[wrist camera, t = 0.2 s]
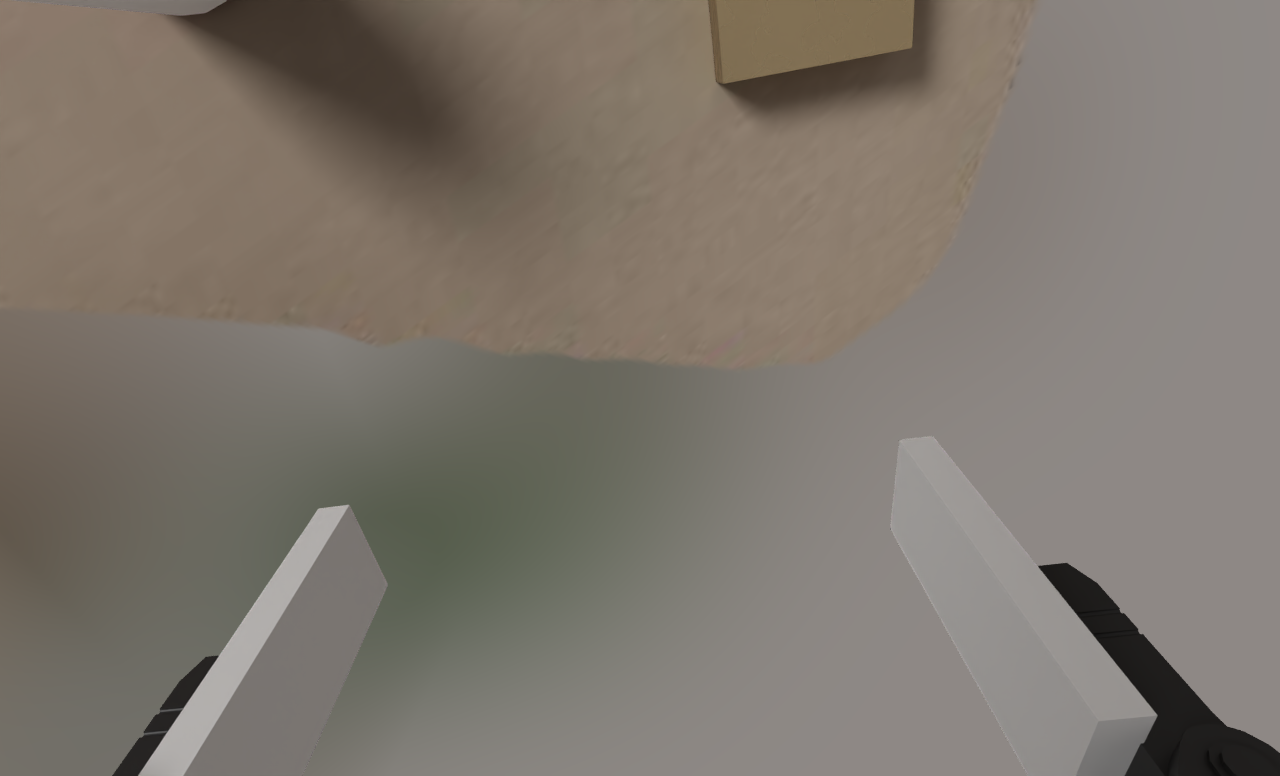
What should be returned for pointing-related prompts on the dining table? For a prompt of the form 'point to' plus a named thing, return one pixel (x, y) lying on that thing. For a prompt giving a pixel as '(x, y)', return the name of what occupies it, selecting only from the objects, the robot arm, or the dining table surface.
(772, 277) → the dining table surface
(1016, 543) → the robot arm
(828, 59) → the tan holed block
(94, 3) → the potion bottle
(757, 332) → the dining table surface
